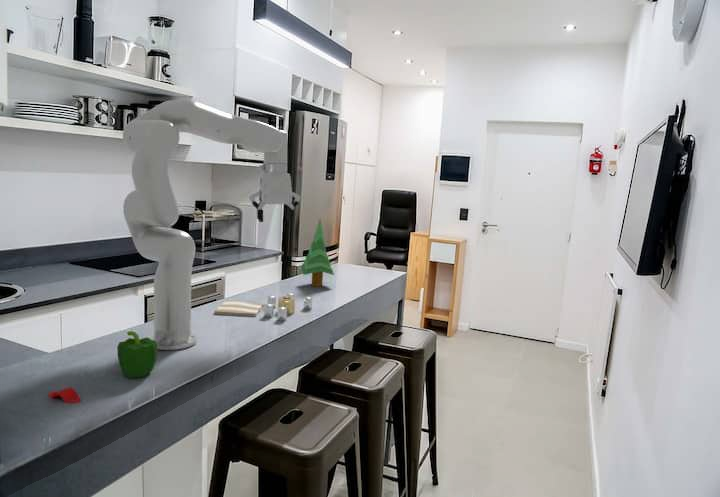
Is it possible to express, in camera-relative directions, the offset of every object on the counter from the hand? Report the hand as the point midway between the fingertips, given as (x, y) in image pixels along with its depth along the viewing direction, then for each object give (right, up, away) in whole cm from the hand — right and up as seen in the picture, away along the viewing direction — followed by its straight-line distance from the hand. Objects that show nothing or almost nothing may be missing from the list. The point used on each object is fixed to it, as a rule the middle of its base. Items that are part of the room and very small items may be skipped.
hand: (275, 221), depth 167 cm
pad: (-14, -30, +9) cm, 35 cm away
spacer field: (+2, -31, +10) cm, 33 cm away
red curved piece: (-33, -40, -63) cm, 82 cm away
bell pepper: (-24, -39, -49) cm, 67 cm away
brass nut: (+2, -31, +10) cm, 33 cm away
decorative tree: (+9, -25, +55) cm, 61 cm away
